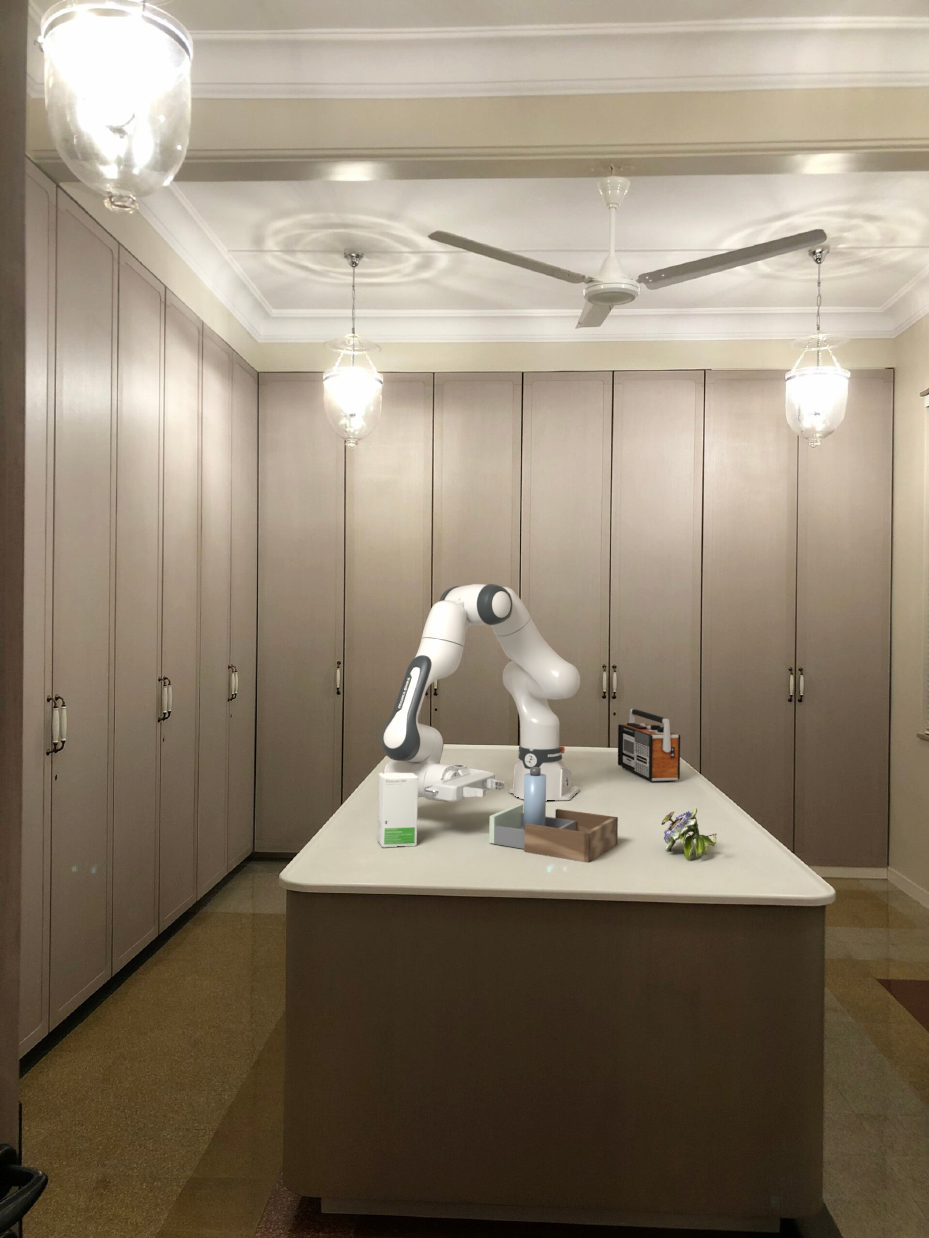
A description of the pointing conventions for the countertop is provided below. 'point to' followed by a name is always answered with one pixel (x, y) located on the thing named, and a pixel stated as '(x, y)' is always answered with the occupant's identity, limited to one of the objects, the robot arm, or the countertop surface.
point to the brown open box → (573, 836)
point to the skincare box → (397, 809)
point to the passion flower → (681, 829)
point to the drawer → (518, 826)
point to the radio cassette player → (649, 748)
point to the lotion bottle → (534, 797)
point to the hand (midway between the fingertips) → (493, 789)
